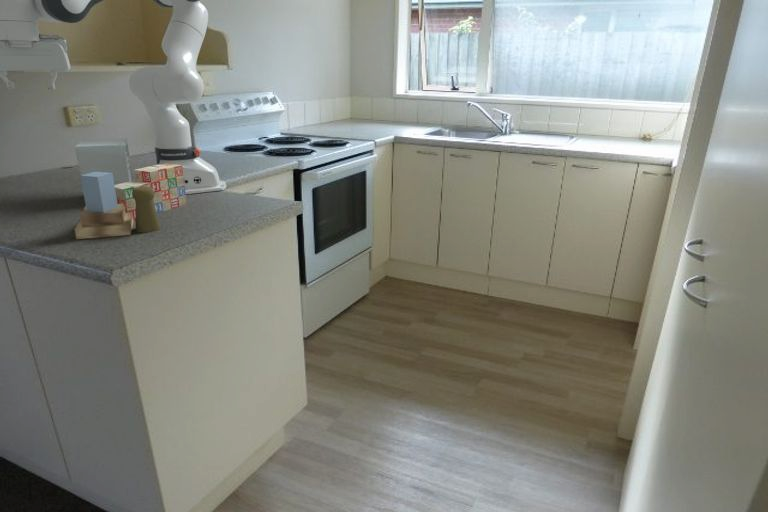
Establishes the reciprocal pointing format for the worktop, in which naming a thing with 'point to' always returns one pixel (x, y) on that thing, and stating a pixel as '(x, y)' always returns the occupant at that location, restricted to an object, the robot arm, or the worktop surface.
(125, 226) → the plinth
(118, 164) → the supplement box
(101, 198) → the pillar
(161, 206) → the stack of blocks
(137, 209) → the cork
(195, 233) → the worktop surface
